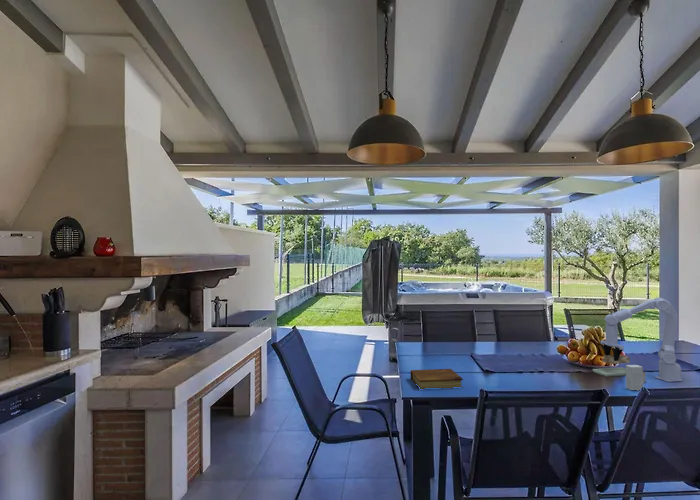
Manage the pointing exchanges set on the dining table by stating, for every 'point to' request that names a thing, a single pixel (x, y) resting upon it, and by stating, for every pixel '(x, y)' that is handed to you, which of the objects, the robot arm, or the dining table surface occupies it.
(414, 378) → the diary
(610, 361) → the tan rectangular frame
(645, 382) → the rubber stamp
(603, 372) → the tray
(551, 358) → the dining table surface
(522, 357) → the dining table surface
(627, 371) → the skincare box
